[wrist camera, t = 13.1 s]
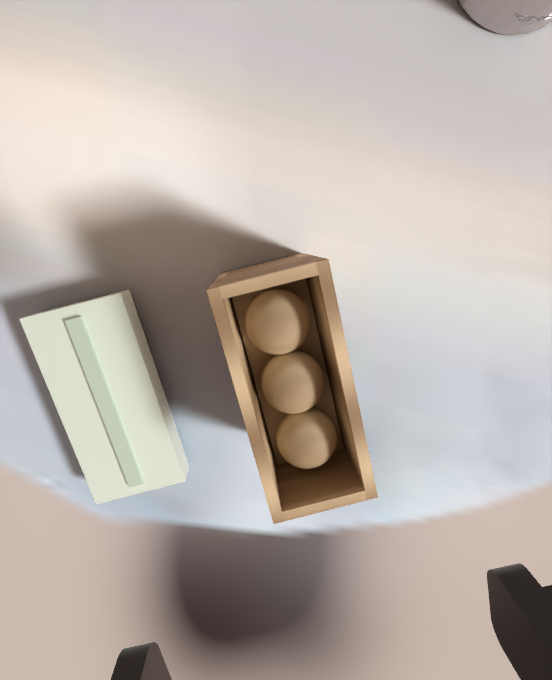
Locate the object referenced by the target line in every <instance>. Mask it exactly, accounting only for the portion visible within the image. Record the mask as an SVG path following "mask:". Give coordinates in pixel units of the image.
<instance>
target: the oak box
mask: <svg viewBox="0 0 552 680" xmlns="http://www.w3.org/2000/svg"><path fill="white" fill-rule="evenodd" d="M206 291H207V294H208V298H209V301H210V305H211V308H212V312H213V315H214V319H215V322H216V326H217V329H218V332H219V336H220V339H221V343H222V346H223V350H224V353H225V357H226V360H227V364H228V367H229V371H230V374H231V377H232V381H233V384H234V388H235V391H236V395H237V398H238V402H239V405H240V409H241V412H242V416H243V419H244V423H245V426H246V429H247V433H248V436H249V440H250V443H251V447H252V450H253V454H254V457H255V461H256V464H257V468H258V471H259V475H260V478H261V481H262V485H263V488H264V492H265V495H266V499H267V502H268V506H269V509H270V513H271V516H272V520H273V523H274V524H276V523H280V522H284V521H287V520H291V519H295V518H299V517H303V516H307V515H311V514H315V513H319V512H323V511H326V510H330V509H334V508H338V507H342V506H346V505H350V504H354V503H358V502H361V501H365V500H369V499H373V498H377V497H378V495H377V491H376V486H375V481H374V476H373V471H372V466H371V462H370V457H369V452H368V447H367V442H366V438H365V433H364V428H363V423H362V418H361V414H360V409H359V404H358V399H357V394H356V389H355V385H354V380H353V375H352V370H351V365H350V361H349V356H348V351H347V346H346V341H345V337H344V332H343V327H342V322H341V317H340V312H339V308H338V303H337V298H336V293H335V288H334V284H333V279H332V274H331V269H330V264H329V260H328V259H326V258H321V257H317V256H312V255H308V254H304V253H299V254H295V255H291V256H287V257H283V258H279V259H275V260H271V261H267V262H263V263H259V264H255V265H251V266H248V267H244V268H240V269H236V270H232V271H228V272H224V273H221V274H220V275H219V276H218V277H217V278H216V279H215V281H214V282H213V283H212V284H211V285H210V286H209V288H208V289H207V290H206Z"/></svg>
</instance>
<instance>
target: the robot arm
mask: <svg viewBox="0 0 552 680" xmlns="http://www.w3.org/2000/svg"><path fill="white" fill-rule="evenodd" d="M458 1H459V3H460V4H461V6H462V8H463V9H464V10H465V11H466V12H467V14H468V15H469V16H470V17H471V18H472V19H473V20H474V21H476V22H477V23H478V24H480V25H481V26H482V27H484V28H486V29H488V30H491V31H493V32H496V33H500V34H508V35H516V34H524V33H529V32H531V31H534V30H537V29H539V28H542V27H543V26H545V25H546V24H548V23H549V22H551V21H552V0H458ZM487 581H488V591H489V601H490V612H491V620H492V624H493V627H494V630H495V633H496V636H497V638H498V640H499V643H500V645H501V647H502V648H503V650H504V652H505V654H506V655H507V657H508V659H509V661H510V662H511V664H512V666H513V667H514V669H515V671H516V672H517V674H518V676H519V677H520V679H521V680H552V585H550V586H545V587H541V585H540V584H539V583H538V582H537V580H536V579H535V578H534V577H533V576H532V575H531V573H530V572H529V571H528V570H527V568H525V567H524V566H523V565H522V564H514V565H510V566H505V567H501V568H496V569H491V570H488V572H487ZM111 680H171V677H170V674H169V672H168V669H167V667H166V664H165V662H164V659H163V657H162V654H161V651H160V649H159V646H158V645H157V643H155V642H153V643H148V644H144V645H139V646H135V647H130V648H125V649H123V650H122V651H121V653H120V654H119V657H118V659H117V662H116V665H115V668H114V671H113V674H112V678H111Z"/></svg>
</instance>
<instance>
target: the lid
mask: <svg viewBox="0 0 552 680" xmlns="http://www.w3.org/2000/svg"><path fill="white" fill-rule="evenodd" d="M19 320H20V322H21V324H22V327H23V329H24V332H25V334H26V336H27V339H28V341H29V344H30V346H31V348H32V351H33V353H34V356H35V358H36V360H37V363H38V365H39V368H40V370H41V372H42V375H43V377H44V380H45V382H46V384H47V387H48V389H49V392H50V394H51V396H52V399H53V401H54V404H55V406H56V408H57V411H58V413H59V416H60V418H61V420H62V423H63V425H64V428H65V430H66V432H67V435H68V437H69V440H70V442H71V445H72V447H73V449H74V452H75V454H76V457H77V459H78V461H79V464H80V466H81V469H82V471H83V473H84V476H85V478H86V481H87V483H88V485H89V488H90V490H91V493H92V495H93V497H94V500H95V502H96V504H99V503H103V502H107V501H111V500H115V499H119V498H122V497H126V496H130V495H134V494H138V493H142V492H146V491H150V490H154V489H157V488H161V487H165V486H169V485H173V484H177V483H181V482H185V481H186V477H187V473H188V469H189V464H188V461H187V458H186V455H185V452H184V449H183V446H182V443H181V440H180V437H179V434H178V432H177V429H176V426H175V423H174V420H173V417H172V414H171V411H170V408H169V405H168V402H167V399H166V396H165V393H164V390H163V387H162V384H161V381H160V378H159V376H158V373H157V370H156V367H155V364H154V361H153V358H152V355H151V352H150V349H149V346H148V343H147V340H146V337H145V334H144V331H143V328H142V325H141V322H140V320H139V317H138V314H137V311H136V308H135V305H134V302H133V299H132V296H131V293H130V290H125V291H121V292H117V293H114V294H110V295H106V296H102V297H98V298H94V299H90V300H86V301H82V302H78V303H74V304H70V305H66V306H63V307H59V308H55V309H51V310H47V311H43V312H39V313H35V314H32V315H29V316H26V317H23V318H21V319H19Z"/></svg>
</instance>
